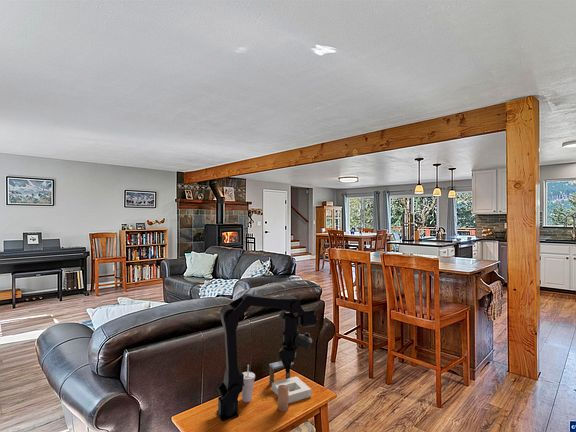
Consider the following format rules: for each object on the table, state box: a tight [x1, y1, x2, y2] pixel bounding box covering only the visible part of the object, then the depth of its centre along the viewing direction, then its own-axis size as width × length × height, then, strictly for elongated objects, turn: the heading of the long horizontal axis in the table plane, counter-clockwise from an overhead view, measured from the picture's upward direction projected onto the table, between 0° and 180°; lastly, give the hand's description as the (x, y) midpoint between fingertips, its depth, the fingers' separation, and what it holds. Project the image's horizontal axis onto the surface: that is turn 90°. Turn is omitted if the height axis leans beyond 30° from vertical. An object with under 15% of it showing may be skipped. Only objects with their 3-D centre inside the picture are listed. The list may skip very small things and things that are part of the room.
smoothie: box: [240, 364, 256, 403], centre depth 133 cm, size 6×6×14 cm
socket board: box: [271, 376, 312, 404], centre depth 138 cm, size 12×12×3 cm
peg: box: [277, 385, 289, 412], centre depth 127 cm, size 4×4×8 cm
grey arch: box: [268, 360, 294, 386], centre depth 146 cm, size 10×4×9 cm, turn 118°
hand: (289, 367), depth 132 cm, fingers open, 9 cm apart
